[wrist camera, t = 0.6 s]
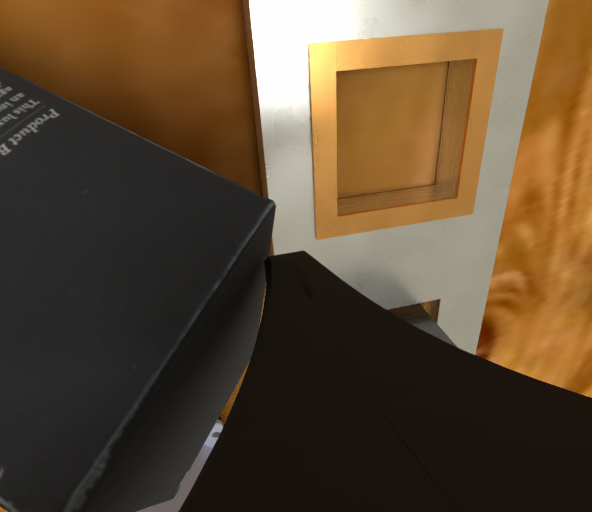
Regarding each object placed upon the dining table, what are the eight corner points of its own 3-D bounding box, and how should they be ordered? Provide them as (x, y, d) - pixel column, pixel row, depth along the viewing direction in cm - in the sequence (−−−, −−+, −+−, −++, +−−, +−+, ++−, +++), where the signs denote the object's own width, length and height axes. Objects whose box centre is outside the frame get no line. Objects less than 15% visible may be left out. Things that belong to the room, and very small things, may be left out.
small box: (59, 231, 18) (263, 345, 17) (-69, 359, 15) (169, 509, 14) (-122, -19, 9) (298, 194, 8) (-545, 179, 6) (41, 580, 5)
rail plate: (449, 390, 30) (465, 412, 28) (287, 430, 27) (294, 456, 26) (528, -58, 17) (566, -69, 15) (237, -49, 15) (244, -59, 13)
